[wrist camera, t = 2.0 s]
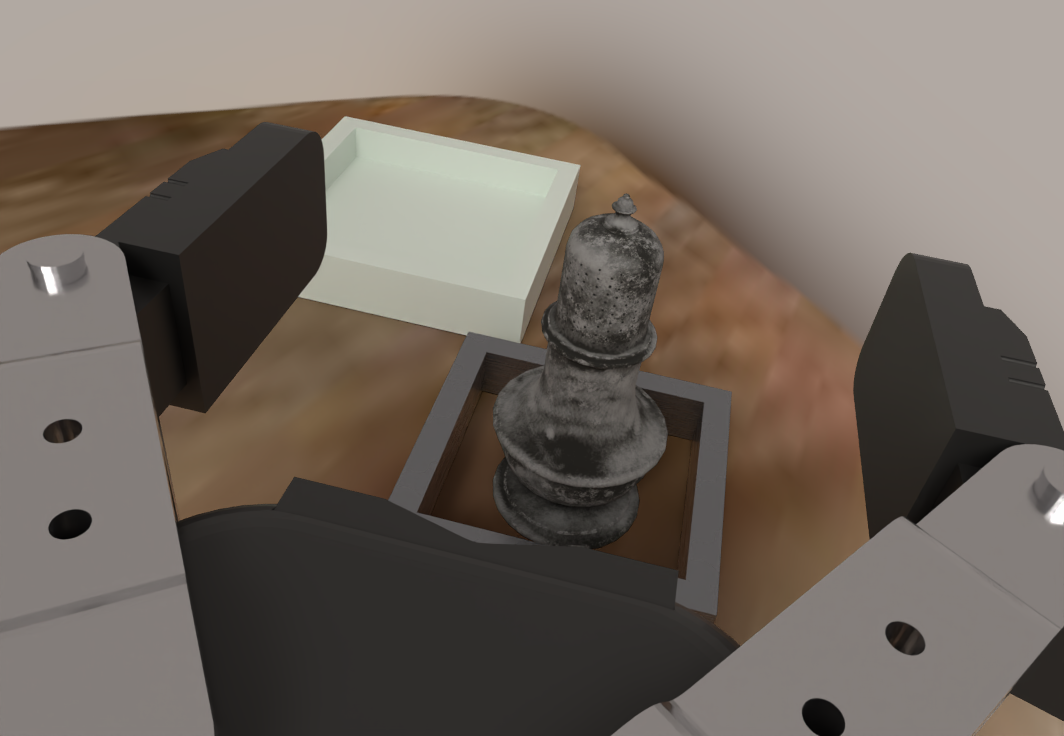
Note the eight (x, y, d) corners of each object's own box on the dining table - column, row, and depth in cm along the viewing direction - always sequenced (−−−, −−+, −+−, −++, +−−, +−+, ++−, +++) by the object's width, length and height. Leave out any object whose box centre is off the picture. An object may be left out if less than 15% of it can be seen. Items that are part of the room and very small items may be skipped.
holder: (375, 569, 28) (374, 528, 27) (465, 369, 36) (468, 331, 35) (700, 653, 27) (716, 615, 26) (718, 429, 35) (731, 391, 34)
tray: (234, 282, 39) (228, 233, 37) (345, 158, 49) (345, 116, 47) (518, 347, 38) (525, 299, 36) (573, 207, 48) (580, 165, 46)
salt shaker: (599, 421, 35) (662, 137, 27) (677, 531, 31) (777, 236, 23) (459, 454, 32) (486, 154, 25) (525, 578, 28) (580, 267, 21)
